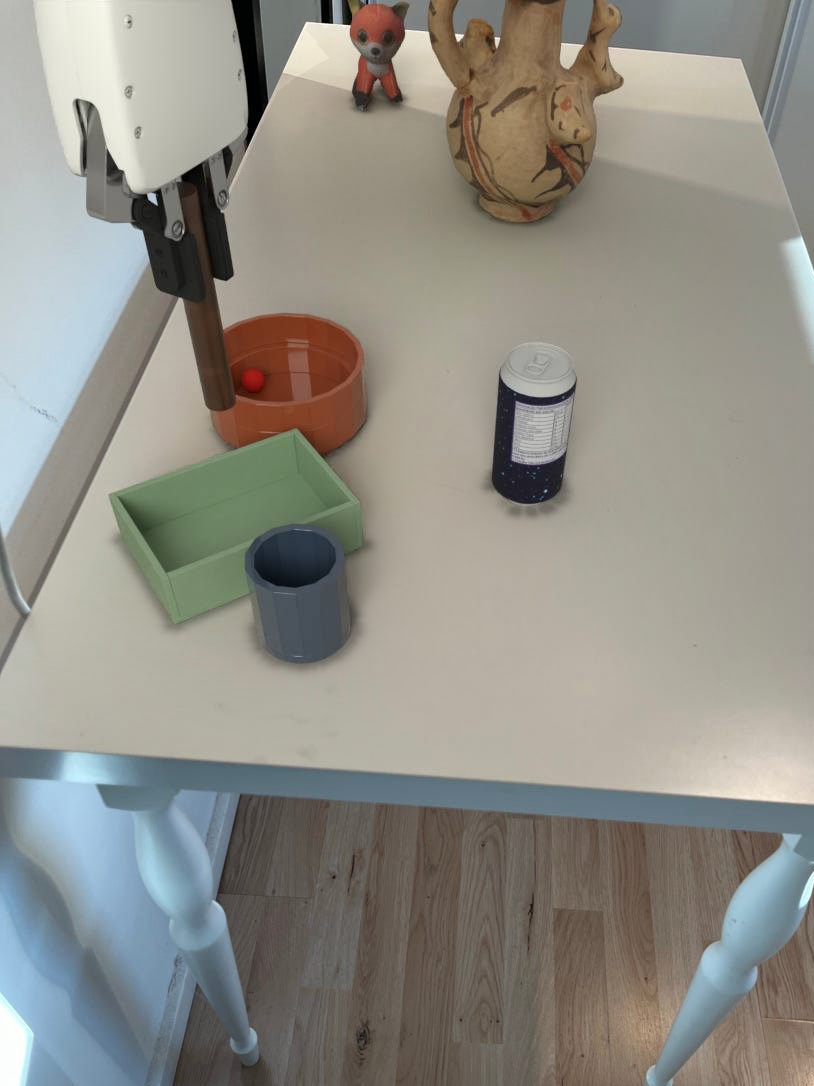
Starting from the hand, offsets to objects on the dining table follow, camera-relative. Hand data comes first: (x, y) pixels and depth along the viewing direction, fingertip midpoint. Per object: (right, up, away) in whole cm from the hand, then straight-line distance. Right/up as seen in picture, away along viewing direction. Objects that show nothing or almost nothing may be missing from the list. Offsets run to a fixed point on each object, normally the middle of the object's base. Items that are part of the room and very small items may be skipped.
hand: (195, 282), depth 57 cm
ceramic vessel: (+22, +28, +53) cm, 63 cm away
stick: (0, -5, +7) cm, 9 cm away
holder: (+5, -20, +11) cm, 23 cm away
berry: (-3, +1, +26) cm, 27 cm away
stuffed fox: (+4, +50, +71) cm, 87 cm away
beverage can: (+21, -9, +22) cm, 31 cm away
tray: (-1, -14, +16) cm, 21 cm away
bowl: (+1, -2, +26) cm, 26 cm away
